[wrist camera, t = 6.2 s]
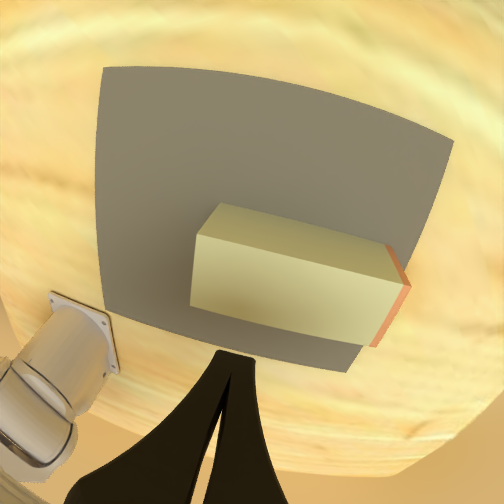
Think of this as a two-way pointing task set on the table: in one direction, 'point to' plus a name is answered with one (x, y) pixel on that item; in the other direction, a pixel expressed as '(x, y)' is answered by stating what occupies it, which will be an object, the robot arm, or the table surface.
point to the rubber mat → (244, 188)
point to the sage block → (296, 276)
